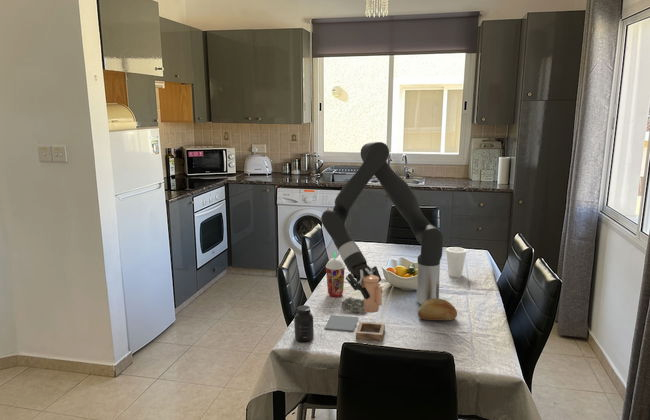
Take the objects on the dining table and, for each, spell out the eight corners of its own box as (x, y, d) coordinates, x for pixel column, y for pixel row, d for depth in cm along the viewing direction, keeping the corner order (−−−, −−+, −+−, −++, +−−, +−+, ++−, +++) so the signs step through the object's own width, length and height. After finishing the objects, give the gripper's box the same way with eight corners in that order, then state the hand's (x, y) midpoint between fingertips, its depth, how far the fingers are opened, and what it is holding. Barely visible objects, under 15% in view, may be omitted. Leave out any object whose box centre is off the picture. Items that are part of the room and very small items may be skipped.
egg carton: (339, 310, 197) (339, 301, 196) (346, 303, 203) (346, 294, 203) (363, 314, 192) (363, 305, 191) (370, 307, 199) (370, 298, 198)
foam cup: (443, 276, 234) (444, 251, 231) (446, 271, 242) (447, 246, 239) (463, 279, 230) (465, 253, 228) (465, 273, 239) (467, 248, 236)
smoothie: (343, 299, 207) (342, 255, 203) (324, 298, 209) (323, 254, 205) (346, 292, 215) (346, 249, 211) (328, 291, 217) (327, 249, 213)
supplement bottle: (294, 335, 175) (293, 304, 172) (313, 334, 175) (312, 303, 173) (294, 344, 168) (294, 312, 166) (314, 343, 168) (313, 311, 166)
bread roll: (459, 325, 181) (460, 305, 180) (419, 324, 183) (419, 304, 181) (454, 314, 191) (455, 295, 189) (416, 313, 192) (417, 294, 190)
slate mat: (358, 318, 188) (358, 317, 188) (353, 331, 177) (353, 330, 176) (331, 316, 190) (331, 314, 190) (324, 329, 179) (324, 328, 179)
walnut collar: (384, 329, 178) (384, 323, 177) (382, 341, 169) (382, 334, 168) (359, 327, 180) (359, 321, 179) (356, 339, 171) (356, 332, 170)
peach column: (359, 309, 173) (359, 277, 171) (371, 304, 176) (371, 274, 174) (374, 315, 167) (374, 283, 165) (386, 311, 171) (386, 279, 168)
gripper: (341, 255, 170) (364, 296, 163) (371, 247, 178) (394, 286, 172) (332, 265, 175) (354, 306, 168) (361, 257, 184) (383, 295, 177)
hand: (374, 295), depth 170 cm, fingers closed on peach column, 5 cm apart
